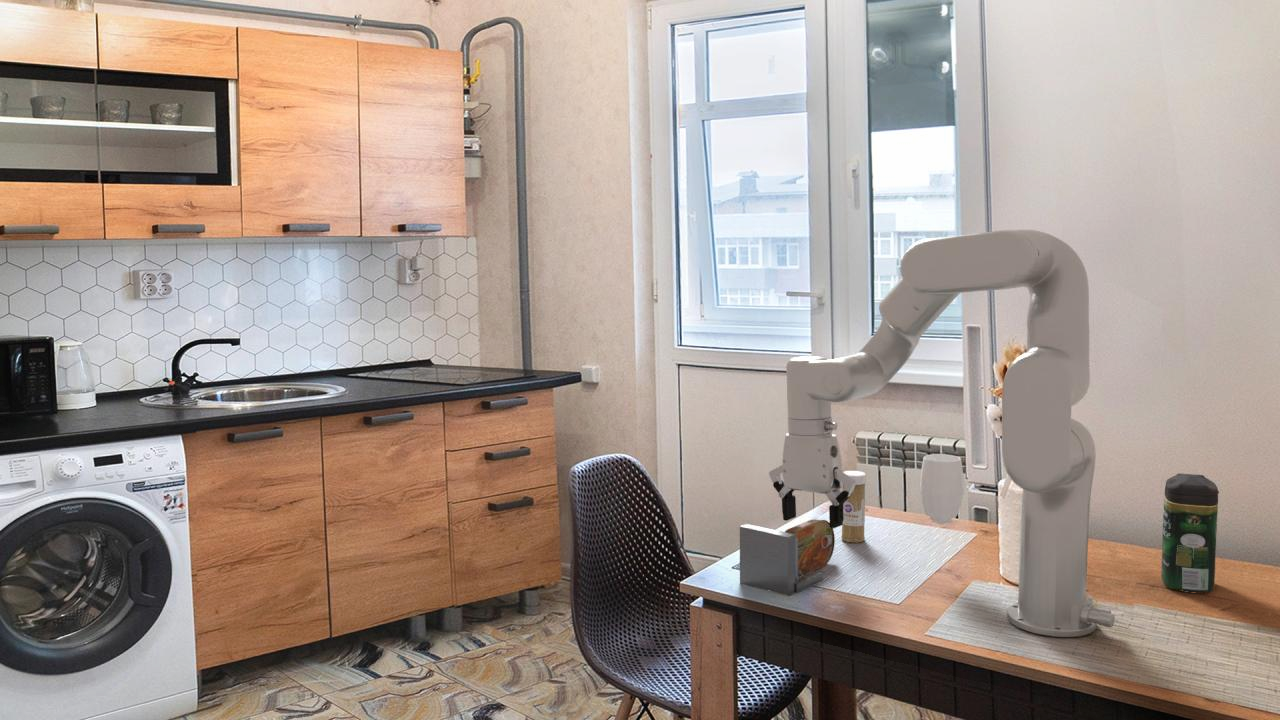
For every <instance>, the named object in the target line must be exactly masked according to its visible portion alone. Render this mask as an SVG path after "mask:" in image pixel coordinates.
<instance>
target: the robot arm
mask: <svg viewBox="0 0 1280 720" xmlns="http://www.w3.org/2000/svg"><path fill="white" fill-rule="evenodd" d="M901 258H902V259H901V262H900V276H901V278H900V279H899V280H898V281H897V283H896V284H895V285H894V286H893V287H892V288H891V289H890V290H889V292H888V293H887V294H886V295H885V296H884V297H883V298H882V300H881V301H880V302H879V305H878V310H879V314H880V316H881V323H880V324H879V327H878V328H877V330H876V332H875V333H874V334H873V335H872V336H871V338H870V339H869V340H868V341H867V342H866V343H865V345H864V346H863V347H862V348H861V349H860V350H859V351H858V352H857V353H856V354H852V355H850V354H849V355H846V356H842V357H838V358H833V359H827V358H826V357H823V356H815V355H806V356H803V355H802V356H796V357H792V358H790V359H789V360H788V361H787V363H786V367H785V368H786V369H785V372H786V401H787V403H786V404H787V424H788V425H787V430H788V432H787V433H786V434H785V438H784V443H783V450H782V463H781V465H779V466H778V467H776V468H774V469H772V470H770V471H769V472H768V475H769V478H770V480H771V482H772V484H773V488H774V489H775V490H776V492H777V493H778V497H779V498H780V499H781V508H782V509H781V512H782V520H784V521H785V522H786V521H789V520H792V519H794V518H796V517H797V508H796V507H797V505H796V504H797V503H796V501H797V499H796V495H794V493H795V491H800V492H805V493H813V494H820V495H821V494H822V495H823V494H825V496H826V497H827V499H828V501H830V503H831V504H830V505H829V507H828V508H829V509H828V512H829V513H828V514H829V516H828V517H829V523H830V527H831V528H833V529H836V528H838V527H842V524H843V520H844V516H843V503H845V502H846V500H847V499H848V498H849V497H850V496H851V495H852V491H853V490H854V488H855V485H856V481H855V480H853V479H852V478H851V477H849V476H848V475H846V474H845V473H843V472H844V471H843V464H842V457H841V451H840V445H839V441H838V437H837V435H836V434H833V431H836V430H837V429H838V423H837V422H833V420H832V419H833V417H832V403H836V404H837V403H838V404H844V403H849V402H852V401H856V400H859V399H862V398H866V397H870V396H872V395H874V394H876V393H878V392H879V391H880V390H882V389H883V388H884V387H885V386H886V385H887V384H888V383H889V382H890V381H891V380H892V379H893V378H894V376H895V375H896V374H897V373H898V372H899V371H900V370H901V369H902V367H903V366H904V365H905V364H906V363H907V361H908V360H909V359H910V357H911V356H912V355H913V353H914V351H915V349H916V347H917V345H918V344H919V341H920V339H921V337H922V335H924V333H925V332H926V331H927V330H928V329H929V328H930V327H931V325H932V324H933V323H934V322H935V321H936V320H937V319H939V317H940V315H942V314H943V312H945V310H946V309H947V308H948V307H949V306H950V304H952V303H953V301H955V299H956V298H957V297H958V296H959V295H960V294H962V293H974V292H984V291H986V292H987V291H1001V290H1003V291H1004V290H1010V289H1011V290H1012V289H1016V288H1025V289H1027V290H1028V292H1029V304H1028V308H1027V314H1026V331H1027V333H1026V337H1027V338H1026V352H1024V353H1022V354H1021V355H1019V356H1018V357H1017V358H1015V359H1014V360H1013V361H1012V363H1011V364H1009V366H1008V368H1007V370H1006V373H1005V375H1004V378H1003V382H1002V389H1001V457H1002V462H1003V466H1004V469H1005V472H1006V474H1007V476H1008V477H1009V478H1010V480H1011V481H1012V482H1013V483H1014V484H1015V485H1016V486H1018V487H1019V488H1020V489H1022V496H1021V505H1020V528H1019V529H1020V530H1019V531H1020V534H1019V535H1020V536H1019V560H1018V561H1019V565H1018V566H1019V567H1018V569H1019V570H1018V598H1017V600H1018V601H1017V602H1016V603H1014V604H1012V605H1010V606H1009V607H1008V608H1007V610H1006V617H1007V620H1008V621H1009V622H1010V624H1012V625H1013V626H1015V627H1017V628H1019V629H1021V630H1024V631H1025V632H1029V633H1032V634H1037V635H1042V636H1045V637H1046V636H1047V637H1048V636H1049V637H1058V638H1077V637H1083V636H1086V635H1087V636H1088V635H1090V634H1092V633H1093V632H1094V631H1095V630H1096V628H1097V625H1099V626H1102V627H1106V628H1110V629H1111V628H1112V629H1113V627H1114V624H1115V619H1116V618H1115V614H1112V610H1111V609H1108V608H1103V607H1097V606H1096V605H1095V604H1093V595H1090V594H1087V581H1088V580H1087V576H1088V575H1087V572H1088V553H1089V552H1088V550H1089V547H1088V546H1089V527H1090V513H1091V510H1090V509H1091V506H1090V505H1091V495H1092V489H1093V488H1092V487H1093V480H1094V473H1095V467H1096V445H1095V440H1094V439H1093V436H1092V434H1091V432H1090V431H1089V430H1088V429H1087V427H1086V426H1084V424H1083V423H1081V422H1080V421H1078V420H1076V419H1074V418H1072V406H1074V405H1076V404H1078V403H1079V402H1080V401H1082V400H1083V399H1084V397H1086V395H1087V393H1088V390H1089V387H1090V380H1091V379H1090V377H1091V375H1090V319H1089V318H1090V291H1089V288H1090V287H1089V280H1088V275H1087V274H1088V273H1087V271H1086V268H1085V265H1084V262H1083V261H1082V259H1081V258H1080V256H1079V255H1078V253H1077V252H1076V251H1075V250H1074V249H1073V248H1072V246H1071V245H1069V244H1068V243H1067V242H1065V241H1063V240H1062V239H1060V238H1058V237H1056V236H1054V235H1051V234H1049V233H1046V232H1044V231H1038V230H1034V229H1010V230H1009V229H1006V230H1005V229H1003V230H995V231H988V232H987V231H986V232H979V233H971V234H970V233H969V234H962V235H955V236H954V235H952V236H946V237H929V238H924V239H921V240H918V241H916V242H915V243H913V244H912V245H911V246H909V247H908V249H907V250H906V251H905V252H904V254H903V256H902V257H901ZM781 477H782V478H781ZM843 484H844V490H843ZM841 489H842V491H841Z"/></svg>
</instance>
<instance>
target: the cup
mask: <svg viewBox="0 0 1280 720" xmlns="http://www.w3.org/2000/svg"><path fill="white" fill-rule="evenodd" d="M962 463H963V462H962V459H961V457H960V456H957V455H952V454H945V453H941V454H940V453H939V454H938V453H936V454H935V453H934V454H933V453H932V454H927V455H924V456H923V458H922V463H921V470H920V481H919V482H920V483H919V484H920V485H919V491H920V498H921V504H922V507H923V510H924V514H925V515H926V517H929V518H930V519H931V521H932V522H933V523H936V524H938V525H944V524H949V523H950V522H951V520H953V518H956V517H958V514H959V511H960V509H961V505H962V501H963V495H964V489H965V488H964V471H963V464H962Z"/></svg>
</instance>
